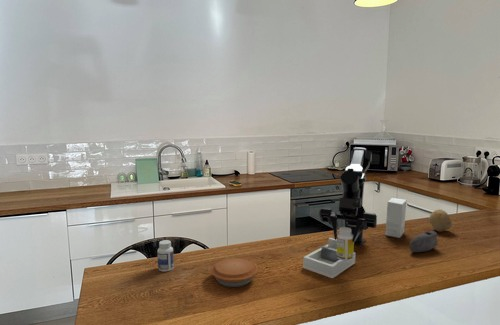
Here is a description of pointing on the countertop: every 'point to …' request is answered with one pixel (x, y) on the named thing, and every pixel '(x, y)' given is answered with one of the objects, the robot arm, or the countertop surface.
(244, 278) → the pie
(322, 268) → the pusher lane
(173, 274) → the countertop surface
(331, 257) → the pusher plate
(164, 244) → the pill bottle
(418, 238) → the perforated stone tool
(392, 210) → the skincare box
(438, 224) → the natural sponge
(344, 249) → the supplement bottle
